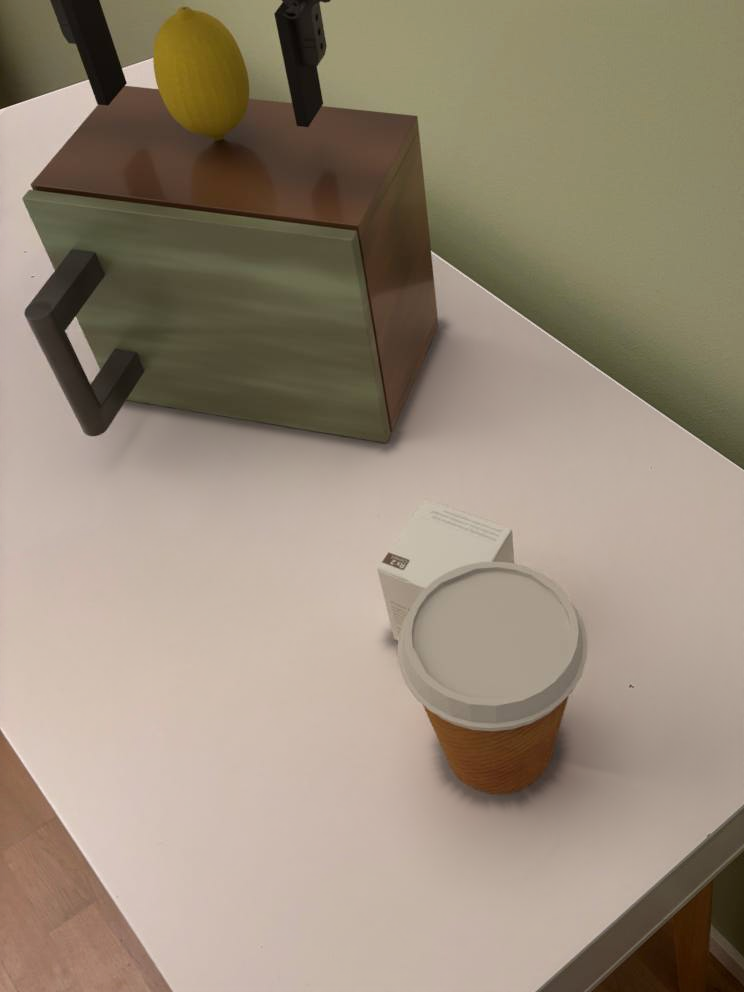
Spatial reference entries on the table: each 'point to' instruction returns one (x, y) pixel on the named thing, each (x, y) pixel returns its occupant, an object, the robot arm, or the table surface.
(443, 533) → the white cardboard box
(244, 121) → the cupboard
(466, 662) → the disposable coffee cup
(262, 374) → the cupboard door
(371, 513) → the table surface
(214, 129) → the lemon
